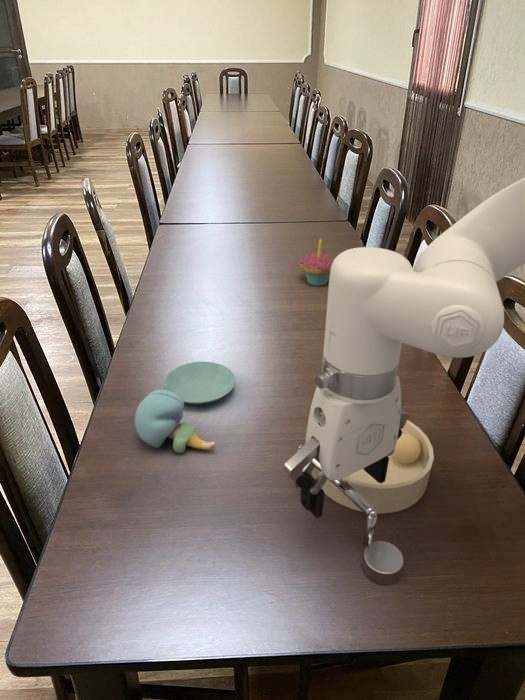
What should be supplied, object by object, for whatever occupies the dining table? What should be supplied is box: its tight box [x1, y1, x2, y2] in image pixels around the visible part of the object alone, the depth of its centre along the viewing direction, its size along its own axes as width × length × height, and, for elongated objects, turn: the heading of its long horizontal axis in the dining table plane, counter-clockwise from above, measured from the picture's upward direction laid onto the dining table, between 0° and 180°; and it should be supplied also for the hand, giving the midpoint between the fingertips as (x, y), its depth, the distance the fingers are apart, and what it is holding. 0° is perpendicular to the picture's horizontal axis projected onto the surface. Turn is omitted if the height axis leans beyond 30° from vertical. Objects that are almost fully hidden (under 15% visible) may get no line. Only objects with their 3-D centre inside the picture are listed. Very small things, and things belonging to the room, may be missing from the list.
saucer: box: [163, 361, 236, 405], centre depth 90 cm, size 12×12×2 cm
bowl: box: [311, 419, 435, 515], centre depth 74 cm, size 16×16×4 cm
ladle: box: [297, 443, 405, 586], centre depth 64 cm, size 18×4×7 cm, turn 34°
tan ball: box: [393, 434, 421, 463], centre depth 75 cm, size 4×4×4 cm
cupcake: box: [299, 236, 335, 287], centre depth 126 cm, size 9×8×12 cm
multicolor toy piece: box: [134, 388, 216, 454], centre depth 77 cm, size 7×9×12 cm
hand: (343, 491), depth 63 cm, fingers open, 9 cm apart
